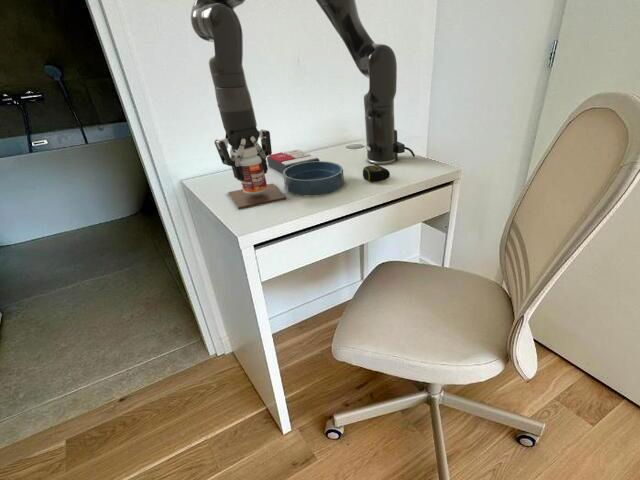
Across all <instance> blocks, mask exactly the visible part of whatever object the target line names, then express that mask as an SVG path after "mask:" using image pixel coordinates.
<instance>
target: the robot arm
mask: <svg viewBox="0 0 640 480" xmlns="http://www.w3.org/2000/svg"><path fill="white" fill-rule="evenodd" d="M245 2H246V0H195V1H194V3H193V5H192V8H191V13H190V22H191V26H192V29H193V31H194V32H195V34H196V35H197V36H198V38H200V39H201V40H203V41H206V42H209V43H213V47H214V55H213V56H212V57H210V58H209V60H208V66H209V72H210V76H211V80H212V83H213V86H214V94H215V100H216V103H217V107H218V111H219V115H220V118H221V122H222V126H223V129H224V131H225V137H224V138H222V139H215V140H214V141H213V142H214V145H215V148H216V151H217V153H218V156H219V157H220V160H221V163H222V164H223V165H226V166H228V167H231V170H232V173H233V177H234V179H236V180H237V181H240V182H241V181H243V180H244V177H243V173H242V169H241V166H239V165H240V160H241V158H242V156H243V150H244V149H246V148H250V147H253V146H254V147H256V148H257V151H258V154H256V155H258V156H259V157H260V158H261V160H262V165H263V169H264V174H267V173H268V170H269V166H268V161H267V157H269V156H268V155H272V153H273V151H272V139H271V132H270V130H268V129H260V130H259V129H258V128H257V126H258V123H257V120H256V115H255V110H254V105H253V100H252V96H251V93H250V90H249V86H248V83H247V78H246V73H245V69H244V65H243V59H244V35H243V28H242V23H241V21H240V18H239V15H238V14H237V12H236V11H235V10H234V9H236V8H237V7H239V6H241V5H243V4H244V3H245ZM315 2H316V3H317V5H318V6H319V8H320V10H322V12H323V13H324V16H325V17H326V18H327V20H328V21H329V22H330V24H331V26H332V27H333V29H334V30H335V32H337V34H338V36H339V37H340V39H341V40H342V41H343V43H344V45H345V47H346V49H347V50H348V52H349V55H350V56H351V58H352V60H353V62H354V64H355V66H356V67H357V69H358V71H359V72H360V74H361V75H363V77H365V78H366V79H368V84H369V85H368V91H367V92H366V93H365V94H364V95H363V111H364V124H365V125H364V127H365V141H366V145H365V149H366V161H367V163H369V164H372V165H389V164H390V165H391V164H393V163H395V162H396V161H399V155H398V154H403V153H404V154H405V151H408V152H410V153H411V156H412V157H413V158H415V156H416V155H415V152H414V151H413V150H412V149H411V148H409V147H407V146H406V145H405V144H404V143H402V142H400V141H398V130H397V129H395V128H396V127H395V125H396V124H395V98H396V94H397V84H398V83H397V81H398V80H397V79H398V74H397V73H398V66H397V65H398V64H397V63H398V62H397V57H396V53H395V51H394V50H393V48H392V47H390V45H387V44H384V43H376V42H375V41H374V40H373V39H372V37H371V36H370V34H369V33H368V32H367V30H366V29H365V27H364V25H363V22H362V21H361V18H360V14H359V11H358V6H357V2H356V0H315ZM259 139H260V144H261V145H260V144H259ZM228 145H230V151H228V149H229V146H228ZM235 150H238V151H237V153H236V152H235Z"/></svg>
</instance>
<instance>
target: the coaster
mask: <svg viewBox="0 0 640 480" xmlns="http://www.w3.org/2000/svg"><path fill="white" fill-rule="evenodd" d="M227 193H228V195H229V197H230V199H231V200H232V201H233V203H234V204H235V205H236V207H237V209H238V210H242V209H243V210H244V209H247V208H251V207H256V206H261V205H266V204H270V203H275V202H279V201H284V200H287V197H286V195H284V194H283V192H282V191H281V190H280V189H279V188H278V187H277V186H275V184H274V183H273V182H272V183H267V190H266V191H265V192H262V193H259V194H247V193H245V192H244V191H243V188H242V189H237V190H233V191H228V192H227Z"/></svg>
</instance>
